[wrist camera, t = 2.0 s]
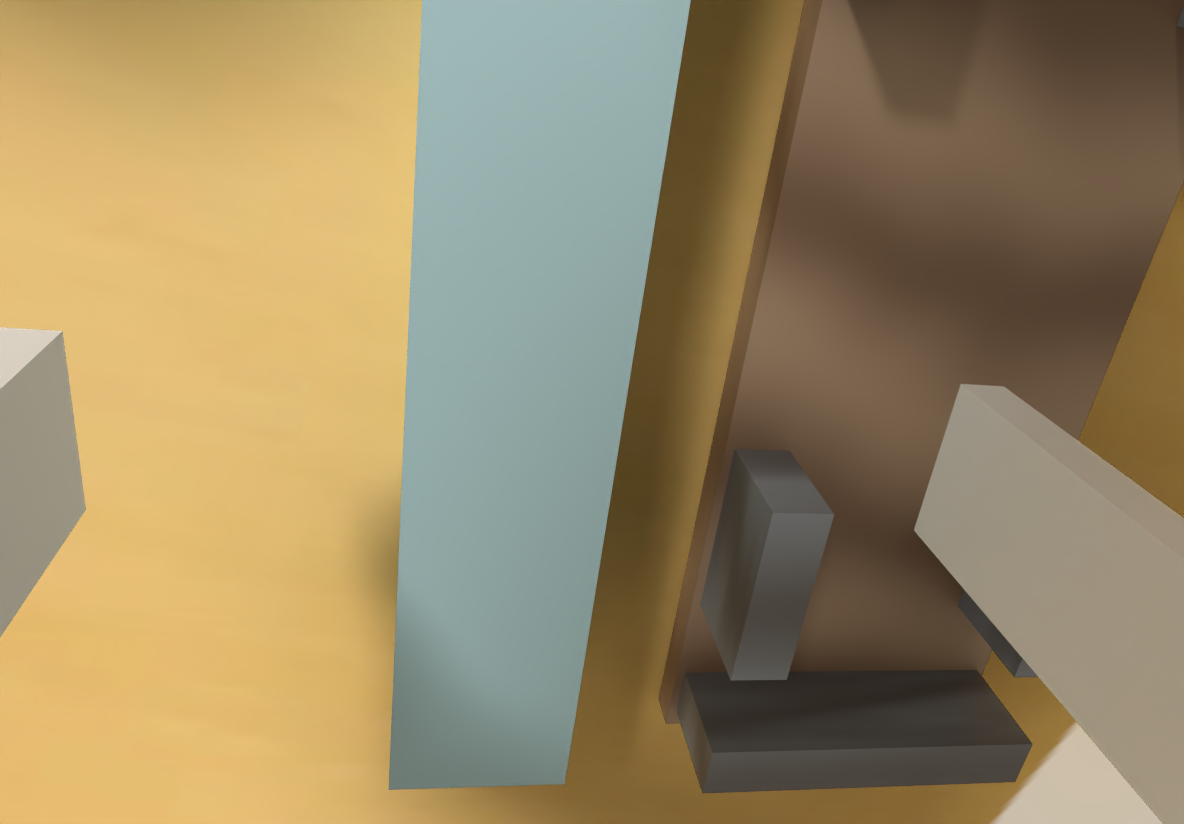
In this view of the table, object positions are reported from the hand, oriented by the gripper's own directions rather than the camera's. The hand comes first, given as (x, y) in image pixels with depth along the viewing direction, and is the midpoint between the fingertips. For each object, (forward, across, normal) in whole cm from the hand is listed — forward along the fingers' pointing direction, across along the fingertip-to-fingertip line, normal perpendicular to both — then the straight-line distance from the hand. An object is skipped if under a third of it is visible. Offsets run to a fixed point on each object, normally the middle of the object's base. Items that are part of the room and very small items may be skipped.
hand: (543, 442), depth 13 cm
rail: (+9, 0, +1) cm, 9 cm away
